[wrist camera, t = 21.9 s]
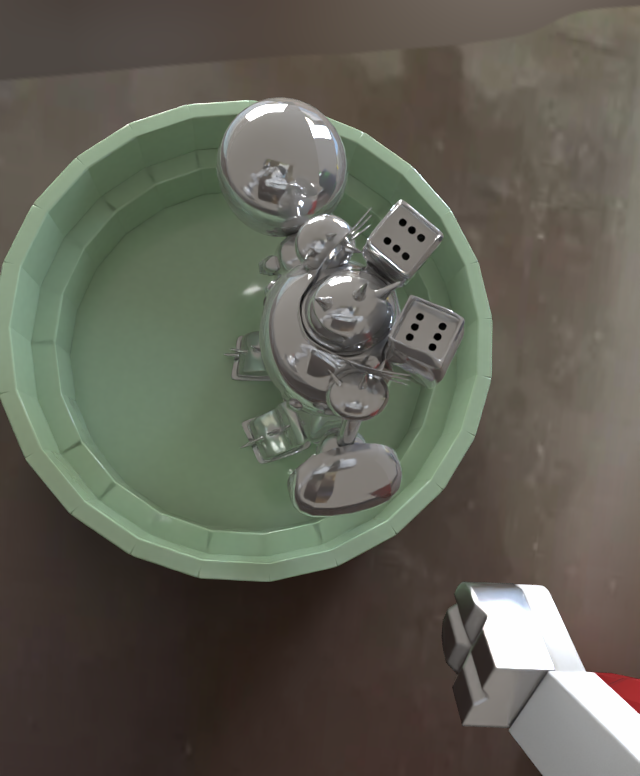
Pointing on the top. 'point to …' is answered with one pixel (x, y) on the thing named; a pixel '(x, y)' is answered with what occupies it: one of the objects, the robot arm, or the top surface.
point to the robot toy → (328, 308)
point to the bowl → (205, 355)
